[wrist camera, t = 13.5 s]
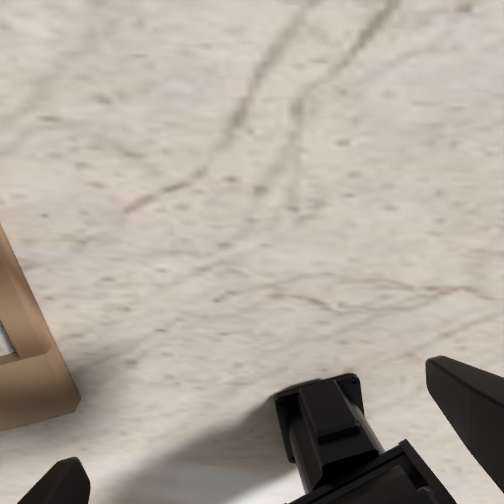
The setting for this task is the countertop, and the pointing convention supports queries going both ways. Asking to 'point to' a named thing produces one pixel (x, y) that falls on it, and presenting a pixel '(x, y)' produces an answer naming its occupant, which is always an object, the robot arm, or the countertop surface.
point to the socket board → (29, 354)
